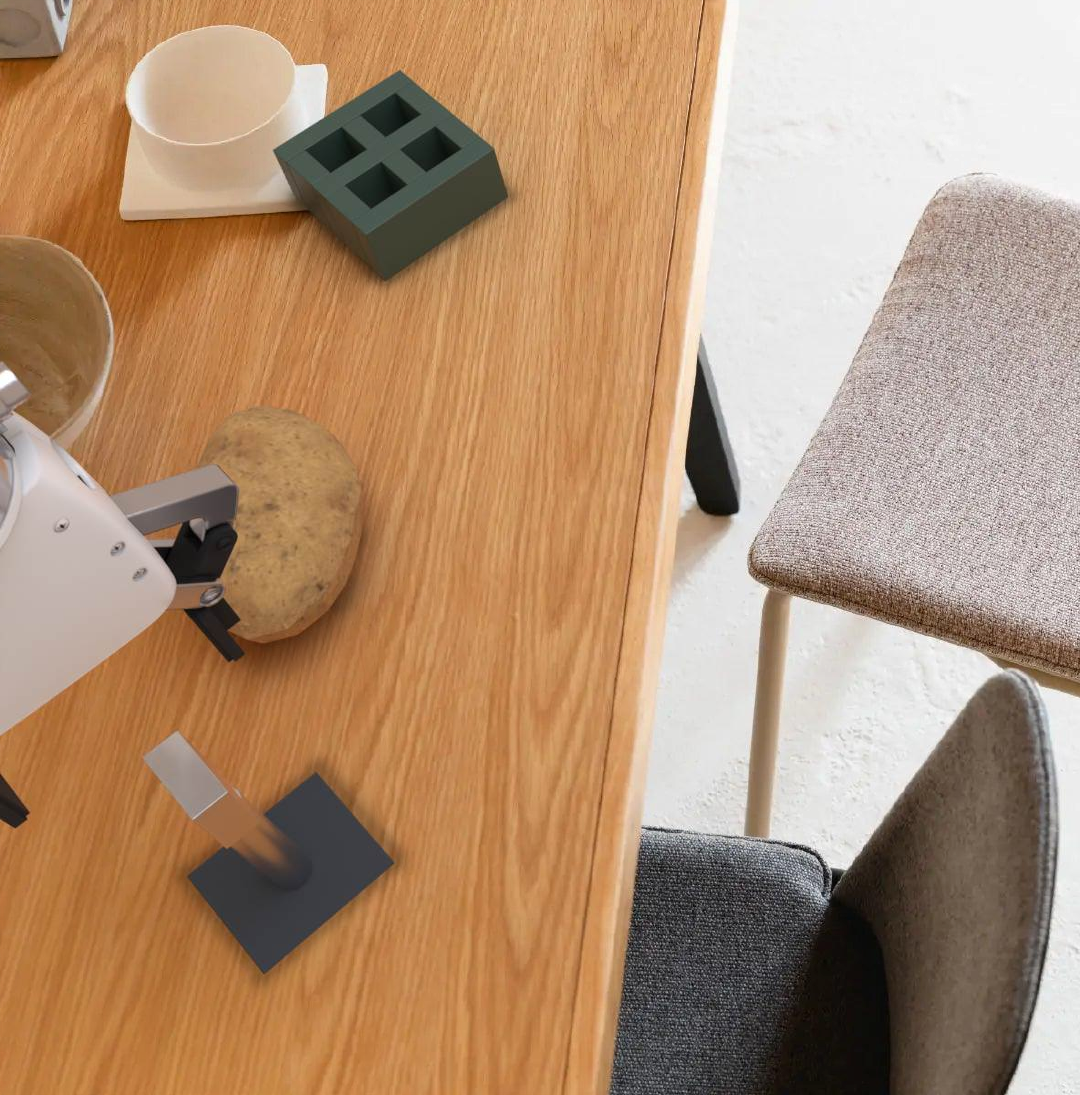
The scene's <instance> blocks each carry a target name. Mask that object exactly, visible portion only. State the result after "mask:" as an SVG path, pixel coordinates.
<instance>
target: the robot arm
mask: <svg viewBox="0 0 1080 1095" xmlns="http://www.w3.org/2000/svg"><path fill="white" fill-rule="evenodd" d="M32 398H33V395H32V394H31V393H30V392H29V389H27V388H26V387H25V386H24V384H23V383H22V382H21V381H20V380H19V379H18V377H17V376H16V375H15V374H14V372H12V370H11V369H10V367H8V366H7V365H6V364H5V362H4V361H3V360H2V361H0V737H1V736H2V735H3V734H5V733H6V732H8V731H9V730H11V729H12V728H13V727H15V726H16V725H18V724H19V723H20V722H22V721H23V720H24V719H25V720H26V718H27V717H29V716H30V715H32V714H33V713H34V712H36V711H37V710H39V709H40V708H41V707H43V706H44V705H46V704H47V703H48V702H50V701H51V700H53V699H54V698H55V697H57V696H58V695H59V694H61V693H62V692H63V691H65V690H66V689H68V688H69V687H70V686H72V685H73V684H74V683H76V682H78V680H80V679H81V678H82V677H84V676H85V675H87V674H89V673H90V672H91V671H92V670H94V669H95V668H96V667H97V666H99V665H100V664H101V663H103V662H104V661H106V660H107V659H108V658H110V657H111V656H112V655H114V654H115V653H116V652H117V651H119V650H120V649H122V648H123V647H124V646H126V645H127V644H128V643H129V642H131V641H132V640H134V639H135V638H136V637H137V636H139V635H141V633H142V632H144V631H145V630H146V629H148V628H149V627H150V626H151V625H152V624H154V623H155V622H156V621H157V620H158V619H159V618H160V617H161V616H162V615H163V614H164V613H165V612H166V611H167V612H168V611H177V610H178V611H180V610H183V611H184V613H185V614H186V615H187V616H188V618H189V619H190V620H192V622H193V623H194V625H196V627H197V628H198V629H199V630H200V631H201V632H202V634H203V635H204V636H205V637H206V638H207V639H208V640H209V642H210V643H211V644H212V645H213V647H215V649H216V650H217V651H218V652H219V653H220V654H221V656H222V657H223V658H224V659H225V660H226V661H227V662H228V663H231V662H232V661H234V663H237V662H238V661H239V660H240V659H242V658H243V657H244V656H245V655H246V652H245V651H244V650H243V648H242V647H241V646H240V644H238V643H237V641H236V640H235V639H234V637H233V636H232V635H231V634H230V633H229V631H228V630H229V629H230V628H231V627H233V626H234V625H235V624H237V623H238V622H239V621H241V619H240V618H239V617H238V615H237V614H236V613H235V611H234V610H233V609H232V608H231V606H230V605H229V604H228V603H227V601H226V600H225V599H224V598H223V596H224V595H225V593H226V586H225V584H224V583H223V582H222V581H221V580H220V577H221V575H222V572H223V570H224V568H225V566H226V564H227V561H228V559H229V557H230V555H231V553H232V550H233V548H234V546H235V544H236V542H237V538H238V534H237V533H236V531H235V530H234V529H233V523H234V520H236V517H237V508H238V498H239V487H238V486H237V485H236V484H235V483H234V481H233V480H232V479H231V478H230V477H229V476H228V475H227V474H226V473H225V472H224V471H223V470H222V469H221V467H220V466H219V465H216V464H212V465H208V466H204V467H201V468H198V469H197V468H194V469H192V470H187V471H186V472H182V473H179V474H176V475H172V476H169V477H165V478H162V479H159V480H156V481H153V482H149V483H147V484H143V485H140V486H137V487H134V488H131V489H127V490H124V491H121V492H118V493H117V492H116V493H114V494H109V493H108V492H107V491H106V490H105V489H104V487H102V486H101V485H100V483H98V481H96V480H95V478H94V477H93V476H91V474H89V472H88V471H87V470H86V469H85V468H84V467H83V466H82V465H81V464H80V463H79V462H78V461H77V460H76V459H74V458H73V456H72V455H71V454H69V452H68V451H66V450H65V449H64V448H63V447H62V446H61V445H60V444H59V443H57V441H56V440H54V439H53V438H52V437H50V436H49V435H47V434H46V432H44V431H42V430H41V429H40V428H39V427H37V426H36V425H35V424H34V423H33V422H31V421H29V420H28V419H26V418H25V417H23V416H22V415H20V414H19V413H17V412H15V411H14V410H15V409H17V408H18V407H20V406H21V405H22V404H24V403H26V402H27V401H29V400H30V399H32ZM181 523H182V526H181V528H180V530H179V529H178V531H179V533H178V532H177V535H176V537H173V538H171V537H170V538H168V537H167V538H146V536H148V535H152V534H154V533H157V532H160V531H164V530H166V529H169V528H172V527H176V526H179V524H181ZM30 814H31V812H30V811H29V809H28V808H27V807H26V805H25V804H24V803H23V801H22V800H21V798H20V797H19V796H18V795H17V793H16V792H15V791H14V789H13V788H12V786H11V785H10V783H8V781H7V780H6V779H5V777H4V776H3V775H2V774H1V772H0V821H2V822H4V824H7V825H8V826H10V827H11V828H13V829H14V830H15V829H17V828H18V827H21V825H23V824H24V823H25V822H26V821H28V817H27V816H28V815H30Z"/></svg>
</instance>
